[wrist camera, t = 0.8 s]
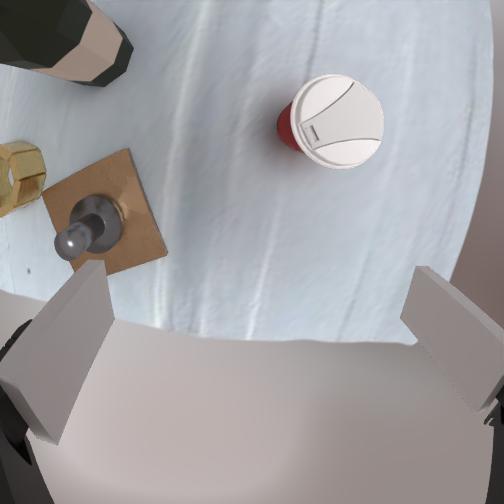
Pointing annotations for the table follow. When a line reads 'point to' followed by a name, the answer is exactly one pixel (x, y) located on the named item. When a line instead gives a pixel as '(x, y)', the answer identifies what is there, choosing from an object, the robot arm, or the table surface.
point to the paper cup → (333, 122)
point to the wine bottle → (63, 40)
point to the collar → (20, 176)
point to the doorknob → (104, 216)
